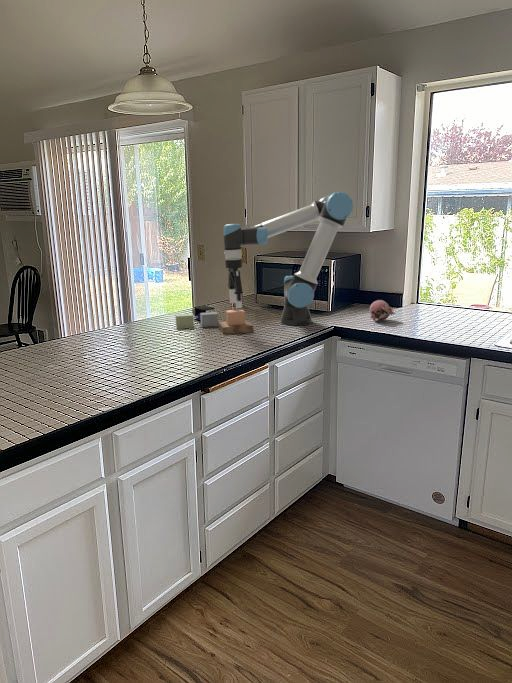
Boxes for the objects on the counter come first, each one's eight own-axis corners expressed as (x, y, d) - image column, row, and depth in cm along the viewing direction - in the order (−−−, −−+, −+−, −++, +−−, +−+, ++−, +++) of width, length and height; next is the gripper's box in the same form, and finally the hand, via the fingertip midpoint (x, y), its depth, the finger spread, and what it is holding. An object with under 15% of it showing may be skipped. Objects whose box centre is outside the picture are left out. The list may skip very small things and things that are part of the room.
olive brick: (192, 325, 255) (191, 313, 254) (193, 327, 251) (193, 315, 249) (176, 326, 253) (175, 314, 252) (177, 328, 249) (176, 316, 247)
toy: (398, 322, 247) (396, 314, 261) (392, 301, 244) (390, 294, 258) (373, 329, 250) (372, 321, 264) (367, 308, 248) (366, 301, 262)
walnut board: (247, 326, 251) (247, 320, 250) (253, 331, 240) (252, 325, 239) (218, 328, 248) (218, 322, 247) (223, 333, 237) (222, 327, 236)
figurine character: (191, 321, 271) (204, 323, 258) (190, 306, 270) (203, 307, 257) (203, 319, 275) (216, 321, 262) (202, 305, 274) (215, 306, 261)
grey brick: (216, 323, 258) (216, 311, 256) (218, 326, 253) (218, 313, 252) (200, 324, 256) (200, 312, 255) (202, 327, 251) (201, 314, 250)
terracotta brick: (242, 321, 246) (242, 309, 245) (245, 324, 242) (244, 311, 240) (226, 323, 245) (225, 310, 243) (228, 325, 240) (227, 312, 238)
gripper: (220, 257, 247) (223, 301, 252) (230, 262, 223) (233, 310, 228) (235, 256, 248) (238, 300, 254) (247, 260, 225) (250, 309, 230)
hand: (235, 305), depth 241 cm, fingers open, 13 cm apart
